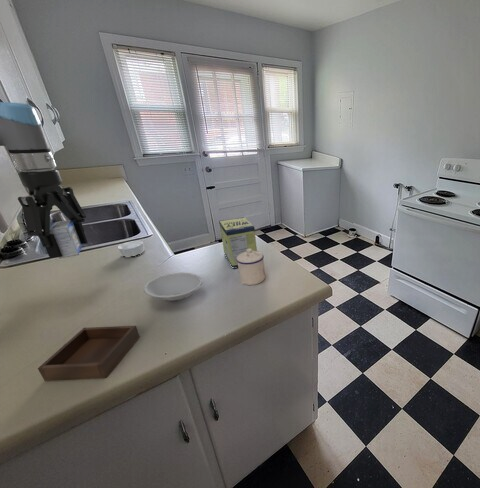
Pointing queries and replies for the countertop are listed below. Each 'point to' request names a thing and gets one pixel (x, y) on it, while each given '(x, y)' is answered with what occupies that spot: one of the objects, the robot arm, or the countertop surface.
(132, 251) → the ramekin
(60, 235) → the medicine box
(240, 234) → the protein box
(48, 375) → the holder
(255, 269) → the teacup with lid
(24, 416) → the countertop surface
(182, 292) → the dish
